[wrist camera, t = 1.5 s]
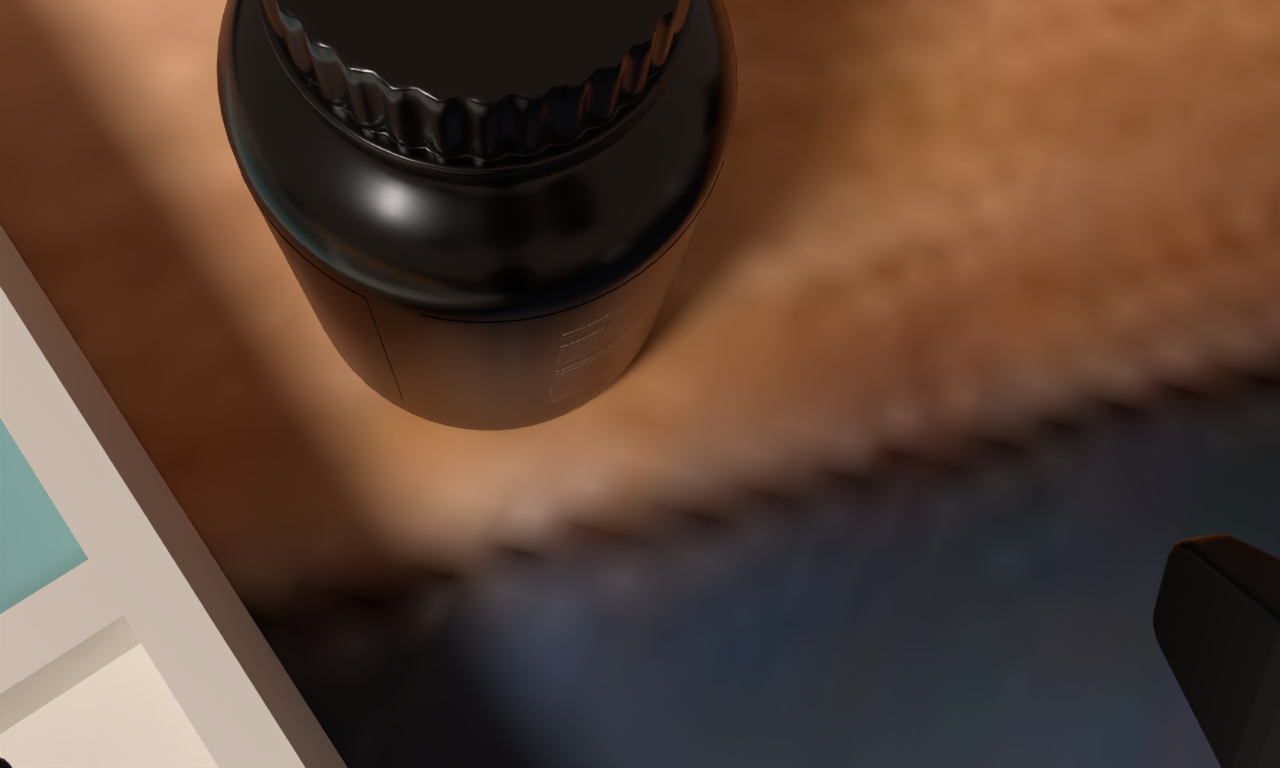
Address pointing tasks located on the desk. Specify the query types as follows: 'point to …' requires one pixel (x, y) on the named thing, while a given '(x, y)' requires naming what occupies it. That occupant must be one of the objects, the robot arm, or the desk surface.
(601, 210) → the supplement bottle
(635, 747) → the desk surface
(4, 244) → the tray
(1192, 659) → the robot arm
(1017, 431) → the desk surface
